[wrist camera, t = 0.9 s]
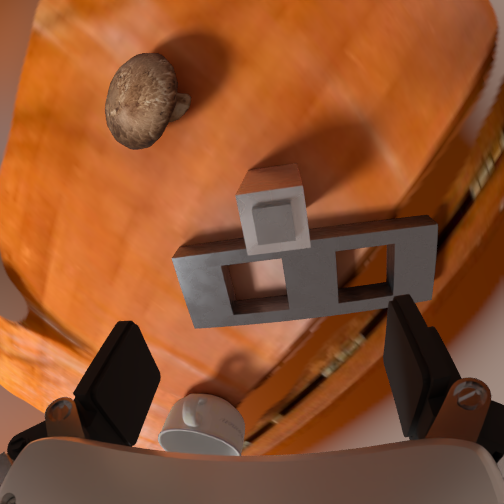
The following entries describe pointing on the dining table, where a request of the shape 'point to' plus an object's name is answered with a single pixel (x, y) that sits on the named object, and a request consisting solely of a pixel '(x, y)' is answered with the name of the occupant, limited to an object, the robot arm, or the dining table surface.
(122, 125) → the mushroom
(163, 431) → the teacup
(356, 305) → the rail
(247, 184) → the grey rectangular block
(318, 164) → the dining table surface
